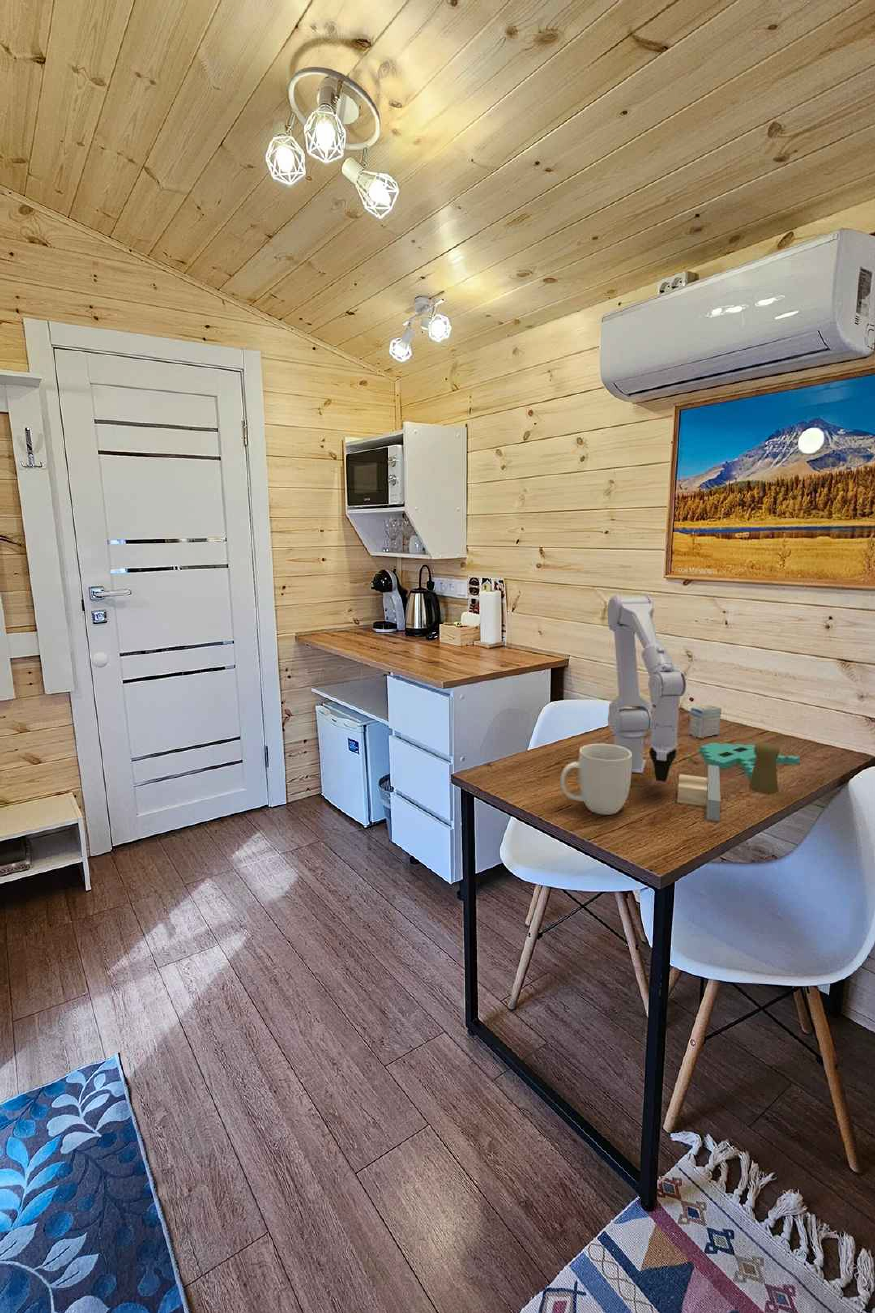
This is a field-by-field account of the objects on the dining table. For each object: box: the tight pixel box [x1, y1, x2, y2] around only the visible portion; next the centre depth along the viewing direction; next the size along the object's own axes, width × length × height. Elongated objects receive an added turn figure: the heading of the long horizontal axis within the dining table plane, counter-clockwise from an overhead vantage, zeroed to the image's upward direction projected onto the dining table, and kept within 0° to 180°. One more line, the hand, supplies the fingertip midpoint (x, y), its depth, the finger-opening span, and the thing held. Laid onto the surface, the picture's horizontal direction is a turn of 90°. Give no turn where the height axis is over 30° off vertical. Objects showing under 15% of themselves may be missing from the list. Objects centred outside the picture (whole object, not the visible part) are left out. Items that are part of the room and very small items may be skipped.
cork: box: [748, 741, 780, 795], centre depth 145 cm, size 6×6×11 cm
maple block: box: [676, 773, 708, 808], centre depth 141 cm, size 8×6×4 cm
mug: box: [560, 743, 632, 816], centre depth 134 cm, size 15×11×13 cm
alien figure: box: [698, 742, 801, 780], centre depth 164 cm, size 20×2×20 cm
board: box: [706, 765, 722, 822], centre depth 139 cm, size 22×2×4 cm, turn 157°
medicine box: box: [688, 704, 722, 737], centre depth 185 cm, size 8×4×9 cm, turn 115°
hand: (661, 780), depth 143 cm, fingers closed
